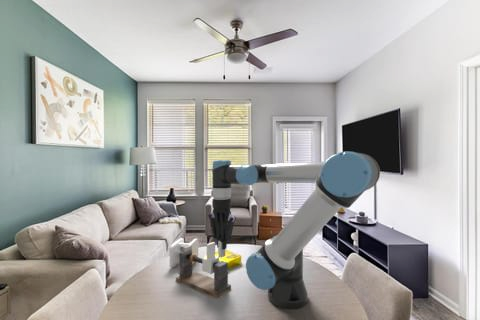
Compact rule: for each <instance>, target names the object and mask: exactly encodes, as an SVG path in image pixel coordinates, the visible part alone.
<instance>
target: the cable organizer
mask: <svg viewBox="0 0 480 320" xmlns="http://www.w3.org/2000/svg"><path fill="white" fill-rule="evenodd" d="M184 244H188V245H191V246H192V255H193V254H194V255H196V256H197V257H199V239H198V238H193V239H192V241H190V242H188V243H186V242H185V239H184V238H182V237H180V238H179V239H177V240H176V241H174V242H173V243H172V244H171V245H170V247H169V248H168V250H169V267H170V268H175V267H176V266H177V265H179V253H180V246H182V245H184ZM194 263H196V262H192V266H193V265H195V264H194Z"/></svg>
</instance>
